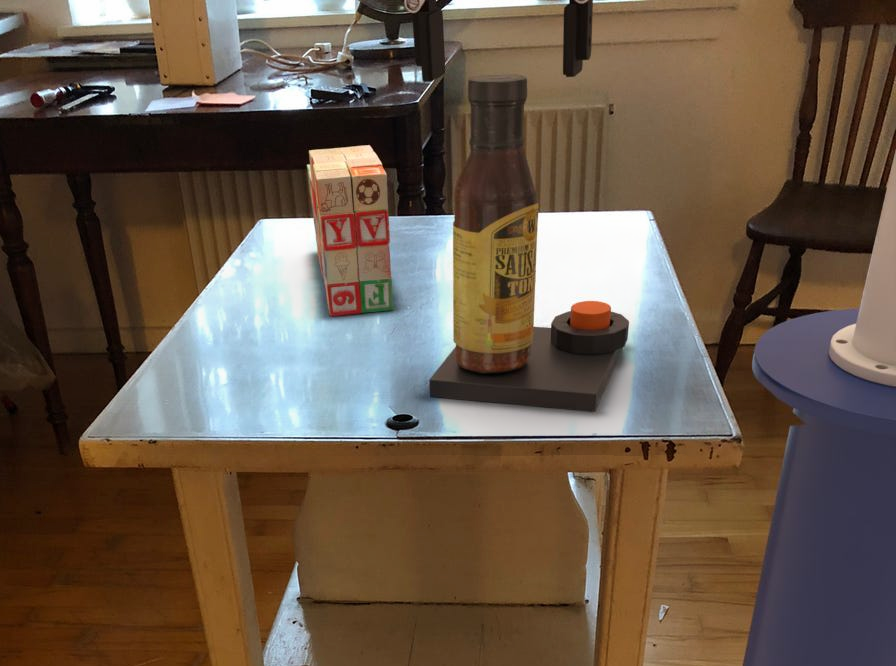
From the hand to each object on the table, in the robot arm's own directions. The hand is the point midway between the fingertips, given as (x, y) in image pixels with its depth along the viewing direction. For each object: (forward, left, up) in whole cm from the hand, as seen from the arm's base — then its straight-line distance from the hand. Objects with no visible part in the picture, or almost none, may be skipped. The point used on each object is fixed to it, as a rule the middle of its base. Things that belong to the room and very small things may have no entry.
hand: (502, 76), depth 66 cm
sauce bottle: (+1, 0, -20) cm, 20 cm away
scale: (-2, -2, -21) cm, 22 cm away
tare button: (-6, -6, -19) cm, 20 cm away
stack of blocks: (+22, -22, -22) cm, 38 cm away
